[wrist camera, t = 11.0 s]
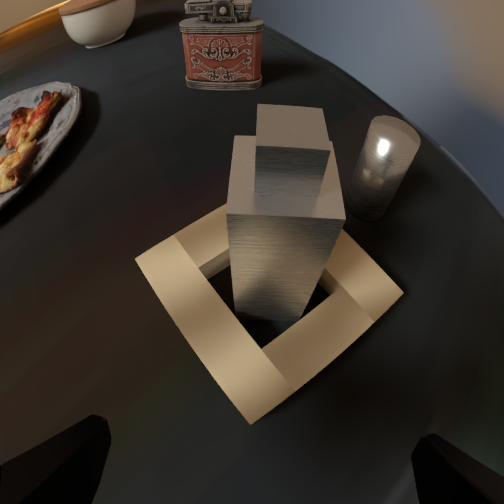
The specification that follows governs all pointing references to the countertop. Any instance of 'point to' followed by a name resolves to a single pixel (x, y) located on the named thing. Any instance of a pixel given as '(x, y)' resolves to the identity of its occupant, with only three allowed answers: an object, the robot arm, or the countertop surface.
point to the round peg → (381, 167)
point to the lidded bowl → (97, 20)
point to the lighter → (222, 45)
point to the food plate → (34, 132)
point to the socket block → (233, 333)
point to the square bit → (282, 212)
